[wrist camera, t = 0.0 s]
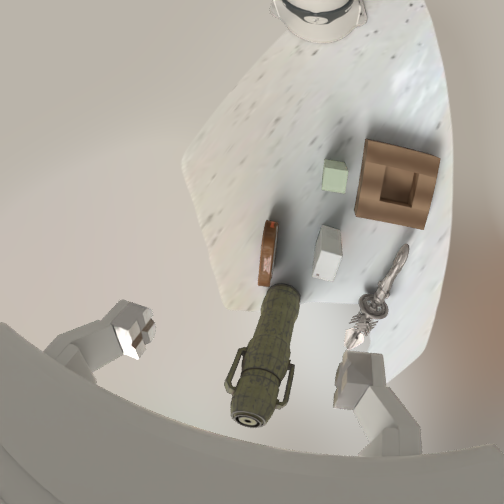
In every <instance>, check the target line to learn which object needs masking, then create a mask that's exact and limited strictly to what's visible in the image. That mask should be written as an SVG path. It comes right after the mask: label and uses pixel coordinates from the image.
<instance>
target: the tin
mask: <svg viewBox="0 0 504 504" xmlns="http://www.w3.org/2000/svg"><path fill="white" fill-rule="evenodd" d="M278 226H279V224H278V222H274V221H268V220H266V223H265V227H264V231H263V238H262V245H261V256H260V266H259V276H258V286H265V287H269V286H270V280H271V278H272V274H273V268H274V261H275V254H276V246H277V237H278Z"/></svg>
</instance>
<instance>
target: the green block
mask: <svg viewBox="0 0 504 504" xmlns="http://www.w3.org/2000/svg"><path fill="white" fill-rule="evenodd" d="M347 177H348V169H347V167H346V165H345V162H340V161H334V160H327V159H325V160H324V169H323V177H322V190H325V191H331V192H337V193H343V194H345V190H346V183H347Z"/></svg>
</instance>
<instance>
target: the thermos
mask: <svg viewBox="0 0 504 504" xmlns="http://www.w3.org/2000/svg"><path fill="white" fill-rule="evenodd" d="M299 303H300V295H299V293H298V291H297V290H296V289H295V288H293V287H291V286H290V285H286V284H277V285H274V286H272V287H271V288H269V290H268V291H267V294H266V296H265V298H264V300H263V303H262V306H261V316H260V319H259V322H258V325H257V328H256V331H255V333H254V336H253V338H252V339H251V340H250V342H249V344H248V346H247V347H243V348H240V349H238V352H237V354H236V357H235V359H234V362H233V364H232V367H231V369H230V371H229V373H228V376H227V378H226V380H225V383H224V386H225V388H226V391H227V393H230V394H232V396H233V397H232V401H231V417H232V419H233V420H234V421H235V422H237V423H238V424H240V425H242V426H245V427H250V428H257V427H262V426H264V425H265V424H266V423H267V422H268V420H269V419H270V418H271V415H272V414H273V412H274V410H275V409H281V408H283V407H284V406H285V405H286V404H287V402H288V400H289V395H290V390H291V385H292V380H293V375H294V367H295V365H294V364H290V361H291V360H289V358H290V353H291V352H290V341H291V337H292V332H293V327H294V323H295V321H296V319H297V317H298V313H299V307H300V305H299ZM241 355H242V356H243V360H242V372H241V376H240V377H241V378H240V379H239V380H238V383H237V386H236V387H233V386H232V383H231V381H232V378H233V376H234V373H235V371H236V368H237V366H238V363H239V360H240V358H241ZM287 370H290V371H289V376H288V381H287V385H286V390H285V395H284V399H283V402H279V400H278V399H277V397H278V392H279V386H280V384H281V381H282V379H283V378H284V377H285V375H286V372H287Z"/></svg>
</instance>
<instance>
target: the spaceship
mask: <svg viewBox="0 0 504 504" xmlns="http://www.w3.org/2000/svg"><path fill="white" fill-rule="evenodd" d="M408 254H409V245H408V244H404V245H403V246H402V247H401V248H400V250H399V251H398V253H397V255H396V257H395V259H394V261H393V264H392V267H391V269H390V271H389V272H388V274H387V275H386V277H385V278H384V279H383V280H382V281H379V283H378V286H379V287H378V289H377V291H376V292H375V294H364V295H362V296H361V297H360V299H359V306H360V308H361V309H360V311H361V313H362V314H361V313H360V312H359V315H356V316H353V318H354V317H357V318H354V319H351V321H352V320H356V319H358V320H356V321H352V322H350V323H354V322H358V321H359V323H356V325H358V326H354V328H357V329H354V328H350V329H347V330H346V333H345V340H344V342H345V343H344V346H345V347H346V348H347V349H348V350H351V349H352V348H355V347H356V346H358V345H359V344H361V343H362V342H364V335H363V334H362V333H360V332H361V331H363V332H364V334H365V336H367V333H369V330H370V331H371V329H372V328H374V327H372V326H375V325H376V324H374V323H377V322H378V321H376V322H373V323H369V322H370V321H371V320H370V319H373V318H374V319H383V318H385V317H386V316H387V315H388V306H387V304H386V303H385V301H384V299H385V298H388V297H389V296H390V293H389V290H390V289H391V286H392V283H393V281H394V279H395V278H396V276H397V274H398V273H399V272H400V271H401V269H402V267H403V265H404V263H405V262H406V260H407V257H408ZM365 297H366V298H365ZM369 300H370V301H371V304H370V303H369V302H368V304H369V305H367V301H369ZM379 304H380V305H379ZM380 306H381V311H380V308H379V311H377V310H378V307H380ZM359 316H360V317H359ZM371 324H374V325H371ZM366 331H367V332H366Z"/></svg>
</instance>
